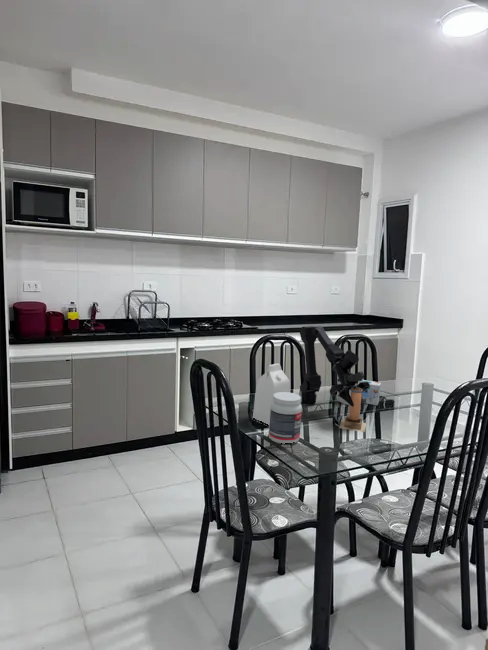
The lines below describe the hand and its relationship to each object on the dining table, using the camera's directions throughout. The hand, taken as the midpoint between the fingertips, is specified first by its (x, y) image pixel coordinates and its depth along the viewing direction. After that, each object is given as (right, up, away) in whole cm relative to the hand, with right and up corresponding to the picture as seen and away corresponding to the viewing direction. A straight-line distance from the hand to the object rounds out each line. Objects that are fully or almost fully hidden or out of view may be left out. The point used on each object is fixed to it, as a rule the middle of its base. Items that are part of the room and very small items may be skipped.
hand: (357, 405), depth 200 cm
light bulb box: (+16, -6, +42) cm, 45 cm away
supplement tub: (-33, -12, -12) cm, 37 cm away
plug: (-1, -6, +2) cm, 7 cm away
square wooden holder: (-1, -11, +3) cm, 11 cm away
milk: (-37, -8, +8) cm, 39 cm away
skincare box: (+4, -5, +39) cm, 39 cm away
